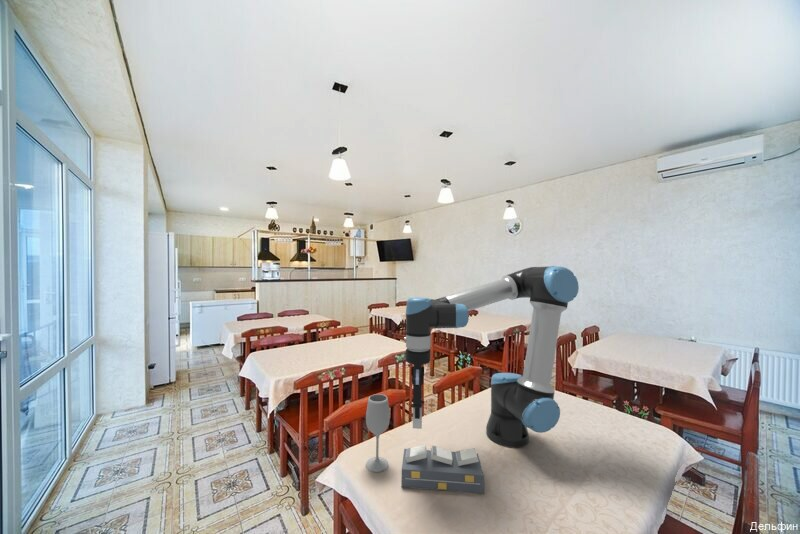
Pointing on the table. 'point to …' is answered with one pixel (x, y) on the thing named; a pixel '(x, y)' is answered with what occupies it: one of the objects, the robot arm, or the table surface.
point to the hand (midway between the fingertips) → (417, 427)
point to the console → (442, 475)
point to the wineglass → (377, 427)
